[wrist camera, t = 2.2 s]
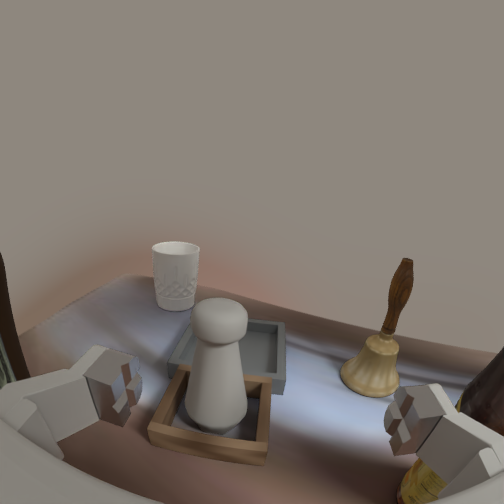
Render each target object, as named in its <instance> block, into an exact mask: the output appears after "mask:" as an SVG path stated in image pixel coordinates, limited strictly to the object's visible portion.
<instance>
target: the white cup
mask: <svg viewBox="0 0 504 504" xmlns="http://www.w3.org/2000/svg"><path fill="white" fill-rule="evenodd" d="M199 251H200V248H199V247H198V246H197V245H194V244H191V243H186V242H163V243H159V244H156V245H154V246H153V247H152V257H153V273H154V284H155V290H156V301H157V304H158V306H159V307H161V308H162V309H164V310H168V311H184V310H188V309H190V308H191V307H193V306H194V303H195V292H196V287H197V276H198V263H199Z"/></svg>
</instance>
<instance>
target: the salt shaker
mask: <svg viewBox="0 0 504 504" xmlns="http://www.w3.org/2000/svg"><path fill="white" fill-rule="evenodd" d="M190 323H191V328H192V330H193V333H194V335H195V336H196V337H197V343H196V348H195V352H194V357H193V362H192V367H191V372H190V377H189V382H188V387H187V392H186V397H185V407H186V410H187V413H188V415H189V417H190V418H191V419H192V420H193V421H194V422H195V423H196V424H198V426H199V427H200V428H201V430H202V431H203V432H206V433H213V434H220V435H223V434H225V433H226V432H228V431H229V430H231V429H232V428H234V427H235V426H237V424H238V423H239V422H240V421H241V420H242V419H243V418H244V417H245V415H246V412H247V397H246V391H245V385H244V378H243V372H242V365H241V359H240V352H239V345H238V341H239V340H240V339H242V338H243V337H244V336H245V334H246V330H247V323H248V315H247V311H246V310H245V309H244V307H243V306H242V305H241V304H240V303H238V302H236V301H234V300H231V299H227V298H209V299H204V300H202V301H200V302H199V303H197V304H196V305H195V306H194V308H193V309H192V312H191V317H190Z"/></svg>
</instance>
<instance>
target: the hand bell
mask: <svg viewBox="0 0 504 504" xmlns="http://www.w3.org/2000/svg"><path fill="white" fill-rule="evenodd" d="M412 287H413V260H411V259H408V258H403V259H402V262H401V264H400V265H399V267H398V269H397V270H396V272H395V274H394V276H393V279H392V281H391V285H390V289H389V298H388V305H389V306H388V312H387V315H386V318H385V321H384V323H383V326H382V328H381V331H380V334H376V335H371V336H370V337H368V338H367V340H366V342H365V344H364V346H363V348H362V349H361V351H360V352H359V354H358V355H357V356H356V357H354V358H352V359H350V360H348V361H347V362H346V363H344V365H343V366H342V368H341V371H340V374H341V378H342V380H343V382H344V383H345V384H346V385H347V386H348V387H349V388H350V389H351V390H353V391H355V392H356V393H359V394H361V395H364V396H368V397H375V398H376V397H377V398H379V397H385V396H388V395H391V394H393V393H394V392H395V391H396V390H397V389H398V387H399V375H398V373H397V371H396V360H397V356H398V352H399V345H398V343H397V342H396V341H395V340H394V339H392V338H393V334H394V332H395V328H396V325H397V322H398V318H399V315H400V313H401V311H402V309H403V308H404V306H405V304H406V303H407V301H408V299H409V296H410V293H411V291H412Z"/></svg>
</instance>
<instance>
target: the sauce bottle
mask: <svg viewBox="0 0 504 504" xmlns="http://www.w3.org/2000/svg"><path fill="white" fill-rule="evenodd" d="M455 409H456V410H457V412H458V413H460V412H462V413H463V414H465V415H467V416H468V417H470V418H472V419H474V420H475V421H477V422H479V423H481V424H482V425H484V426H486V427H487V428H489V429H491V430H493V431H495V432H496V433H498V434H500V435H502V436H503V437H504V347H503V349H502V350H501V351H500V352H499V353H498V354H497V356H496V357H495V358H494V359H493V360H492V361H491V362H490V364H489V365H488V366H487V367H486V368H485V369H484V370H483V371H482V372H481V373H480V374H479V375H478V376H477V377H476V378H475V379H473V380H472V381H471V382H470V383H469V384H468V385H467V387H466V388H465V390H464V392H463V393H462V395H461V397H460V399H459V400H458V402H457V404H456V405H455ZM447 485H448V484H447V483H446V482H445V481H444V480H442V479H441V478H440V477H439V476H438V475H437V474H436V473H435V472H434V471H433V470H432V469H431V468H430V467H428V466H427V465H426V464H425V463H424V462H423V461H422V460H421V459H420V458H418V460H417V461H416V462H415V463H414V465H413V466H412V467H411V468H410V469H409V471H408V472H407V473H406V474H405V476H404V478H403V480H402V482H401V483H400V484H399V486H398V488H397V489H398V490H397V499H398V500H397V501H398V504H426V503H429V502H432V501H436V500H439V499H438V496H437V495H438V494H439V492H440V491H441V490H442V489H444V488H445V487H446V486H447Z"/></svg>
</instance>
